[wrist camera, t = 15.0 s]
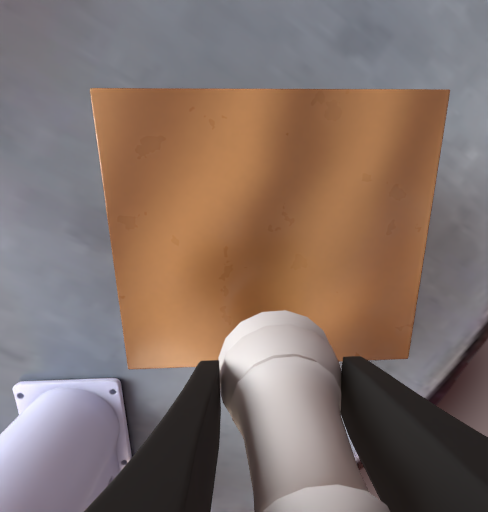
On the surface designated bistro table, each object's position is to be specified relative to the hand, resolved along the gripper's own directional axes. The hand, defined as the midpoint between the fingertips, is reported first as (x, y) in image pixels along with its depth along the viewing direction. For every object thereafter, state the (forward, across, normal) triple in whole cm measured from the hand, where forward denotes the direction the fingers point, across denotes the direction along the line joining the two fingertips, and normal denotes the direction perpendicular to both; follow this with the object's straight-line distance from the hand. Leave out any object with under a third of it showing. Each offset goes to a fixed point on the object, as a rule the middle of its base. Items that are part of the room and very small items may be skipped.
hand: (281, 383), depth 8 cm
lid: (+4, 0, -4) cm, 6 cm away
